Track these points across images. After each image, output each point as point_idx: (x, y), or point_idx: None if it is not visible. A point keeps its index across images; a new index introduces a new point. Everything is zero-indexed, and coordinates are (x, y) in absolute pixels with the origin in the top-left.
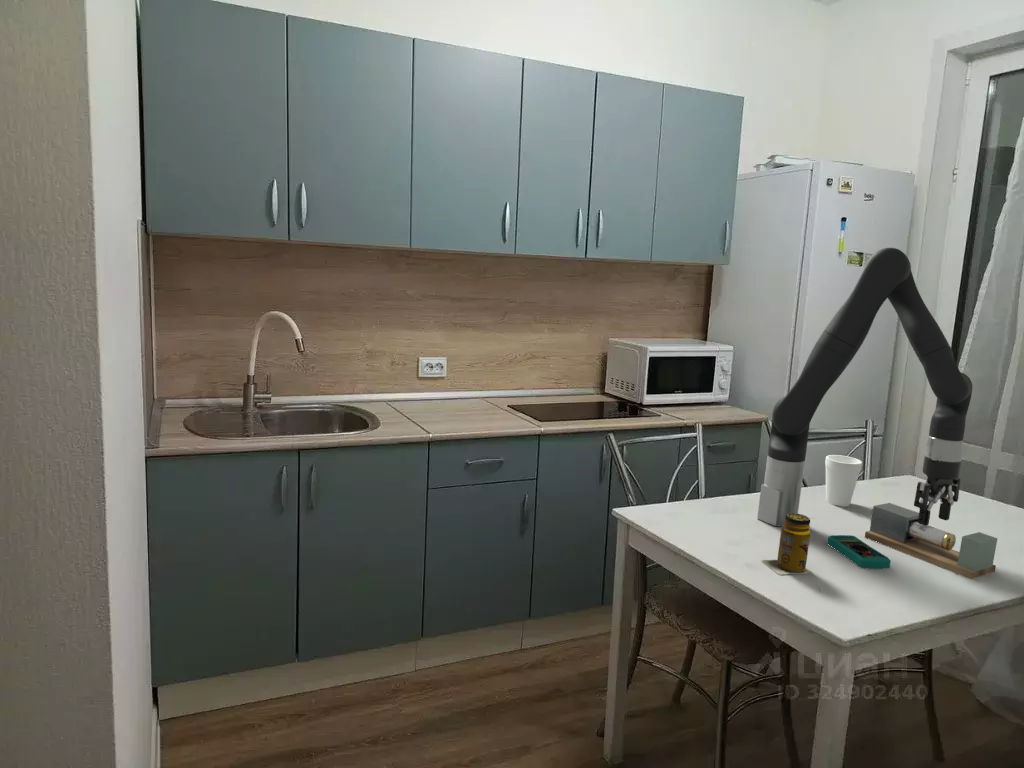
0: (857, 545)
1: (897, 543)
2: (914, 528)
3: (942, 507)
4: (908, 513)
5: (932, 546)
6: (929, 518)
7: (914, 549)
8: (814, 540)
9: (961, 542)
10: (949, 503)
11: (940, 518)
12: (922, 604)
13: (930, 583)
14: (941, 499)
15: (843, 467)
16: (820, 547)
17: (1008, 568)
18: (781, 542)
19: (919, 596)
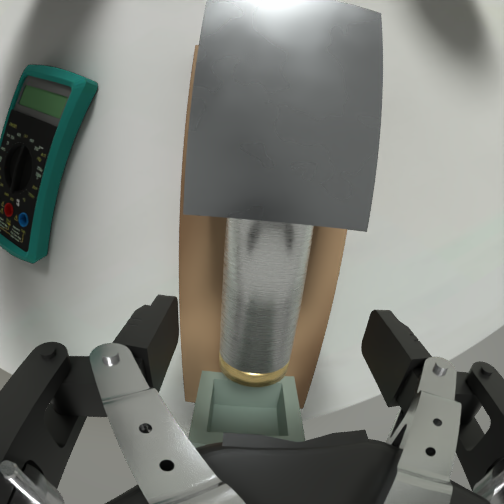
0: (28, 148)
1: None
2: (228, 233)
3: (396, 359)
4: (288, 166)
5: None
6: (168, 364)
7: (189, 247)
8: (39, 43)
9: (191, 424)
10: (398, 416)
11: (369, 318)
12: (11, 358)
13: (73, 346)
14: (415, 390)
15: None
16: (12, 88)
17: (355, 395)
18: None
19: (21, 348)
